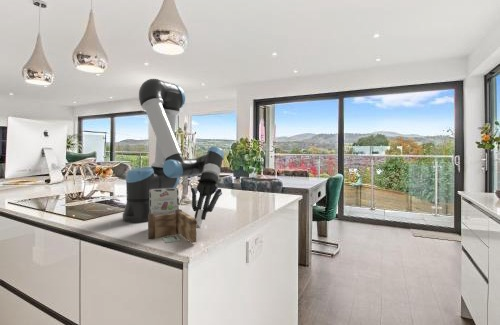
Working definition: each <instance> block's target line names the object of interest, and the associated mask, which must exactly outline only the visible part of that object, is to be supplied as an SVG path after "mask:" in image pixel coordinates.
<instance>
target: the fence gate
mask: <svg viewBox="0 0 500 325" xmlns="http://www.w3.org/2000/svg"><path fill="white" fill-rule="evenodd" d="M177 216H178V233H179V234H178V235H180V236H182V237H183V238H184V239H186V240H187V241H188V242H190V243H191V244H194V243H197V228H196V224H197V220H196V219H195V216H194V217H193V216H191V215H190V214H188V213H187V212H184V211H183V210H182V211H179V212H178V213H177Z"/></svg>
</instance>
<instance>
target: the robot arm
mask: <svg viewBox="0 0 500 325" xmlns="http://www.w3.org/2000/svg"><path fill="white" fill-rule="evenodd" d="M138 101H139V104H140V106H141V109H142V110H144V111H145V113H146V115H147V117H148V120H149V123H150V125H151V127H152V131H153V132H154V135H155V138H156V140H155V154H154V155H155V158H154V162H153V163H152V164H151V165H150V166H143V167H135V168H131V169H129V170H127V172H126V178H125V183H126V184H125V185H126V204H125V207H124V210H123V212H122V221H124V222H126V223H143V222H148V214H149V213H150V205H149V189H160V188H178V185H179V183H180V178H182V177H183V178H184V177H189V178H194V177H198V176H199V175H200V178H199V182H198V184H197V185H196V187H191V188H190V192H191V208H192V210H193V211H194V212H195V213H194V218H195V219H196V220H197V224H196V230H197V229H199V230H200V229H202V224H203V221H205V220H206V219H207V218H206V217H207V214H208V213H211V212H213V210H214V208H215V206H216V205H217V202H218V200H219V198H220V196H222V195H223V192H222V188H218V183H219V178H220V173H221V169H222V165H223V162H224V154H225V153H224V150H223V149H222V148H220V147H219V146H210V147H209V148H208V149H207V152H206V154H203V155H201V156H199V157H195V158H185V157H184V155H183V153H182V151H181V148H180V146H179V143H178V140H177V138H176V136H175V134H176V121H177V120H176V118H177V115H178V114H180V111H181V110H180V109H181V108H182V107H183V106H184V105H185V102H186V94H185V91H184V90H183V88H182V87H181V86H179V85H177V84H175V83H172V82H168V81H165V80H160V79H158V78H149V79H146V80H145V81H144V82H142V84H141V85H140V87H139V91H138ZM197 193H199V197H198V199H197ZM213 194H214V195H213Z"/></svg>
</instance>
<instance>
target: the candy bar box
mask: <svg viewBox="0 0 500 325" xmlns="http://www.w3.org/2000/svg"><path fill="white" fill-rule="evenodd" d="M179 198H180V197H179V188H178V187H176V188H160V189H149V205H150V213H155V216H156V215H163V214H170V213H175V210H178V209H180V208H179V206H180V205H179V204H180V203H179V202H180V201H179V200H180V199H179Z"/></svg>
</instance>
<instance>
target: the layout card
mask: <svg viewBox="0 0 500 325" xmlns="http://www.w3.org/2000/svg"><path fill="white" fill-rule="evenodd" d="M161 239H162V240H163V241H164V243H165V244H167V243H168V244H169V243H175V242H180V241H181V239H180V238H179V237H178V236H177V234H176V235H171V236H166V237H161Z"/></svg>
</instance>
